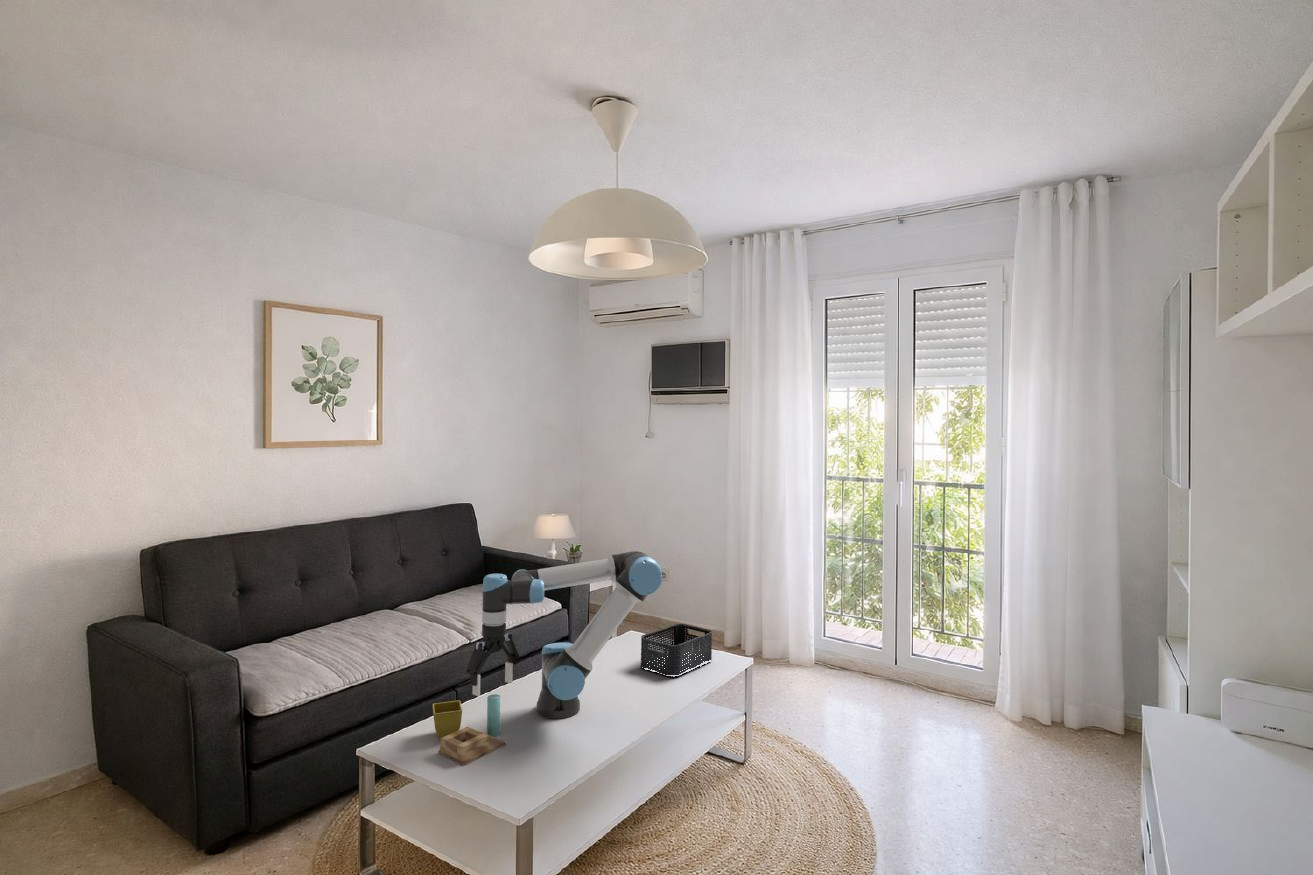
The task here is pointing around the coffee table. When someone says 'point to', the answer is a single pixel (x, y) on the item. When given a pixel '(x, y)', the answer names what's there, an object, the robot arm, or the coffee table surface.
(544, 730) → the coffee table surface
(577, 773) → the coffee table surface
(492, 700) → the peg
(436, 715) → the flower pot
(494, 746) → the socket board
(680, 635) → the storage bin
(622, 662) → the coffee table surface
